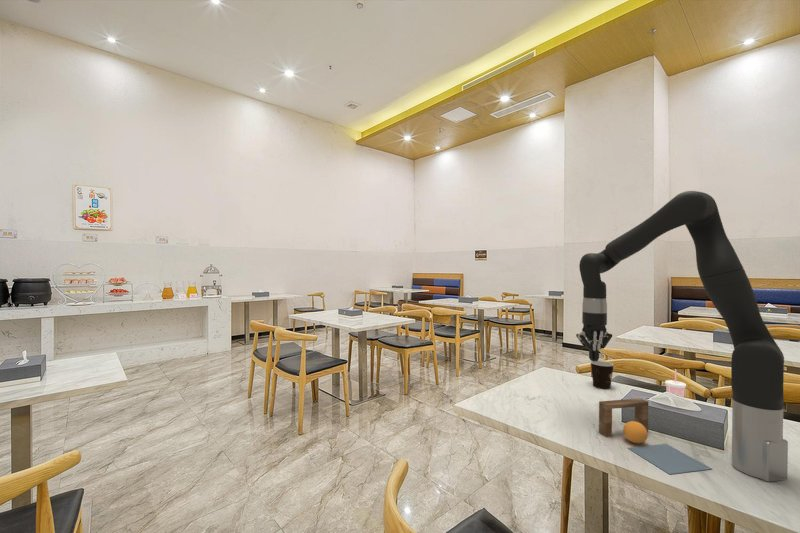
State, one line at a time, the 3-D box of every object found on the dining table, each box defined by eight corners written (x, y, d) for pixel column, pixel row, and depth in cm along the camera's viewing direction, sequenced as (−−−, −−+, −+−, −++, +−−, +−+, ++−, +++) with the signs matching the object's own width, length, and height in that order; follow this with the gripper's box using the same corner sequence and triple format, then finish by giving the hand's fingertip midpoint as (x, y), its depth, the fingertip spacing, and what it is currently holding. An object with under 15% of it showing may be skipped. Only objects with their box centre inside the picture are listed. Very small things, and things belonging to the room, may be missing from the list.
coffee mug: (601, 382, 160) (601, 360, 160) (618, 388, 152) (618, 365, 152) (580, 385, 156) (580, 362, 156) (596, 391, 148) (597, 367, 148)
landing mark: (712, 469, 92) (712, 468, 92) (669, 474, 90) (669, 473, 90) (665, 444, 105) (665, 443, 105) (627, 448, 103) (627, 447, 103)
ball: (644, 446, 106) (656, 437, 103) (627, 447, 105) (638, 438, 101) (632, 426, 111) (643, 416, 107) (615, 427, 110) (625, 418, 106)
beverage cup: (690, 409, 130) (690, 371, 130) (675, 411, 129) (676, 372, 129) (674, 403, 136) (675, 366, 136) (660, 404, 135) (661, 367, 135)
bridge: (648, 432, 112) (648, 401, 112) (606, 437, 109) (606, 405, 109) (639, 428, 115) (640, 398, 115) (598, 432, 112) (599, 401, 112)
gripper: (585, 312, 120) (584, 364, 120) (619, 312, 122) (619, 362, 122) (570, 309, 127) (569, 358, 127) (603, 309, 130) (602, 357, 130)
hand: (594, 360), depth 125 cm, fingers closed
